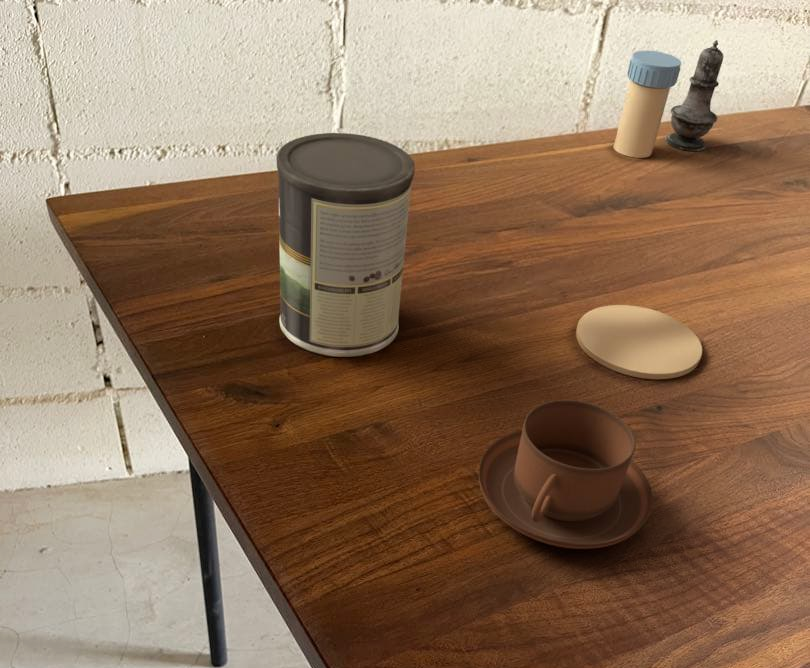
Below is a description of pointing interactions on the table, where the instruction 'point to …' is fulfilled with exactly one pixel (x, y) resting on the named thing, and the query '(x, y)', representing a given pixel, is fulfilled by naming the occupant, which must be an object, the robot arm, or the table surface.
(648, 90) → the jar
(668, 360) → the coaster
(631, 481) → the cup and saucer
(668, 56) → the lid
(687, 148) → the salt shaker
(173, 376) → the table surface
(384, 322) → the coffee can
